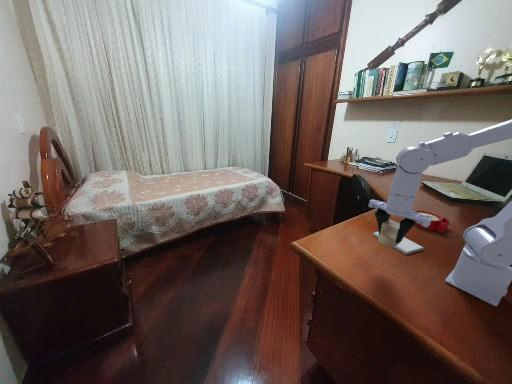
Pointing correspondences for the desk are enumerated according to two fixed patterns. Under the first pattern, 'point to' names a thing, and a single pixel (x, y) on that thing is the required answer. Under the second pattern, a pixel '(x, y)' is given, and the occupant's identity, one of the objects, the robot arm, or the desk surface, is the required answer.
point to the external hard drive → (405, 245)
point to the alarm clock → (435, 222)
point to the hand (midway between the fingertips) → (389, 238)
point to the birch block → (389, 233)
